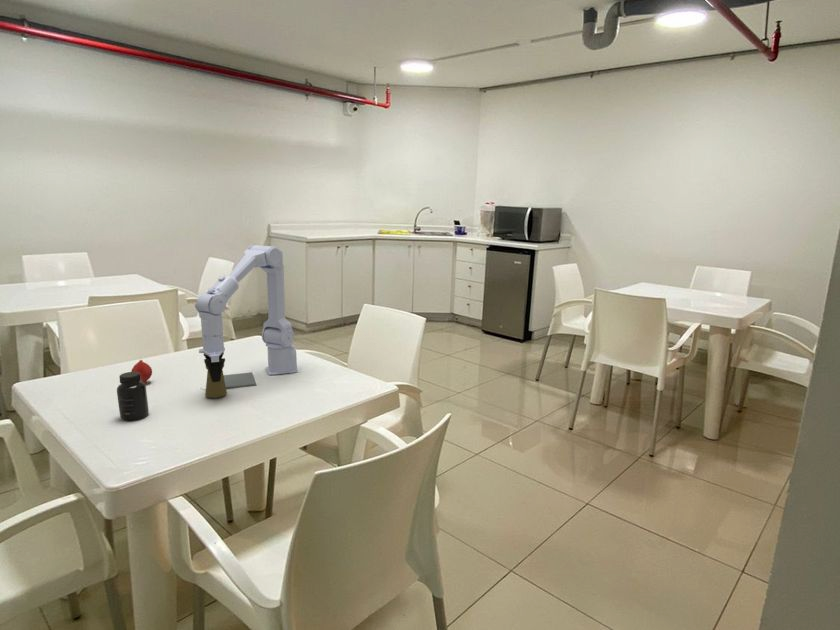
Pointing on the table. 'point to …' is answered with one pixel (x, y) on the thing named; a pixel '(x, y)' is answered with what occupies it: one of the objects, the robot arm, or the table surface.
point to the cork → (215, 386)
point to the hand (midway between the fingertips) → (215, 378)
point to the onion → (143, 370)
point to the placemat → (239, 380)
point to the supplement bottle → (132, 397)
